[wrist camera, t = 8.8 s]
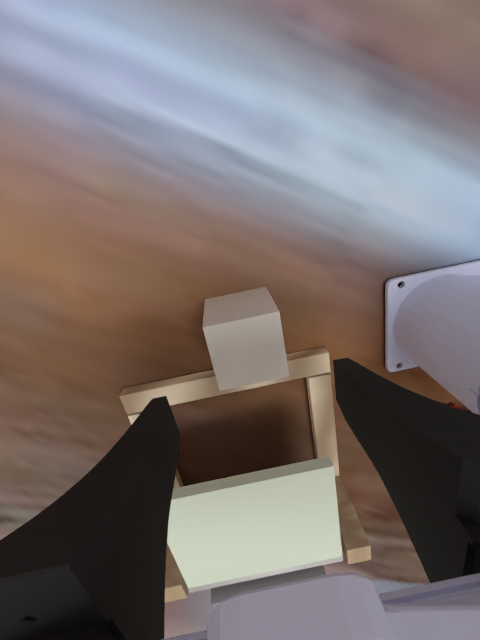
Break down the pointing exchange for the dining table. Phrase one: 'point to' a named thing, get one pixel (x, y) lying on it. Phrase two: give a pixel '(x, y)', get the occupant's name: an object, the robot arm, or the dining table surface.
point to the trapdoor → (256, 528)
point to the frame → (323, 427)
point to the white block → (244, 338)
